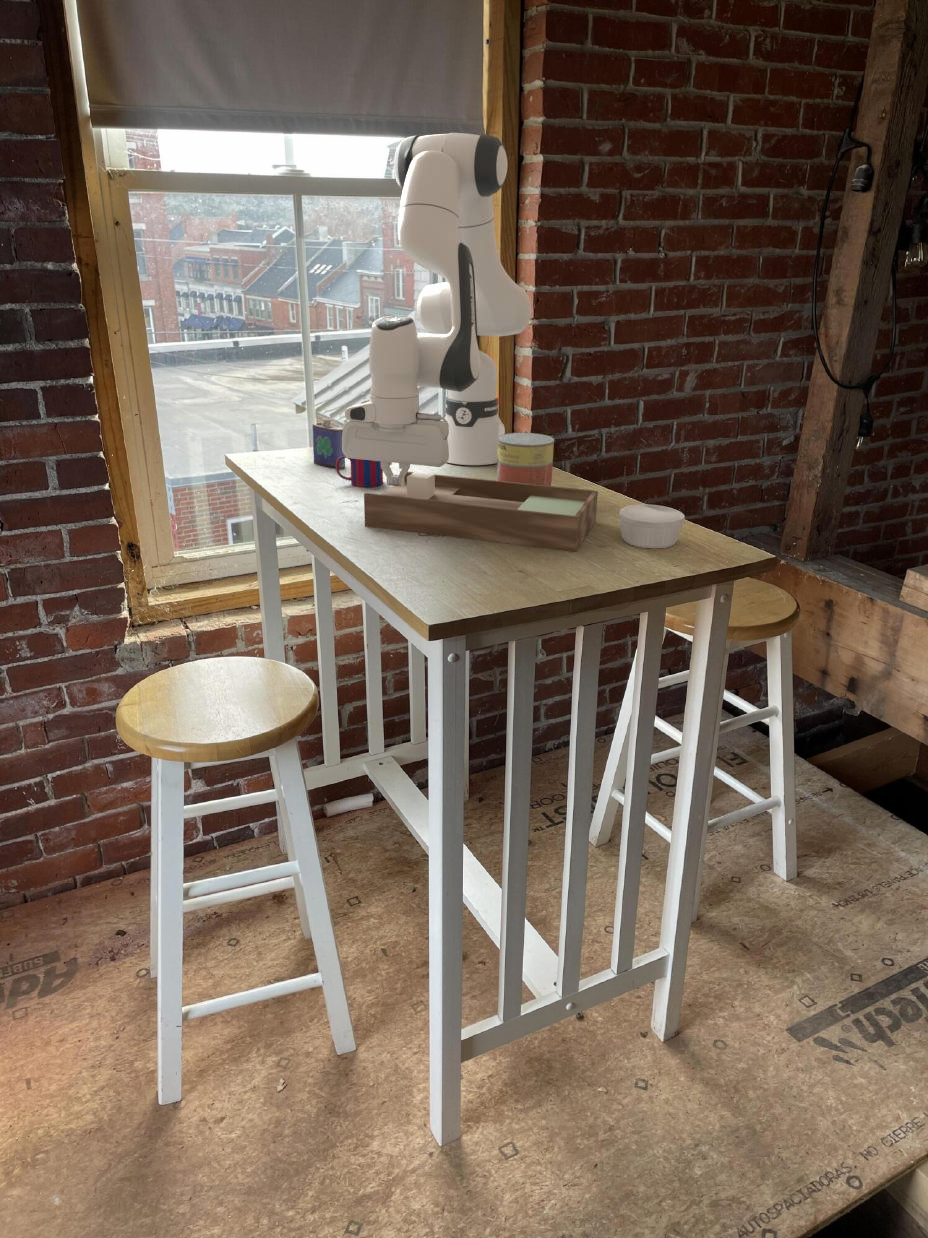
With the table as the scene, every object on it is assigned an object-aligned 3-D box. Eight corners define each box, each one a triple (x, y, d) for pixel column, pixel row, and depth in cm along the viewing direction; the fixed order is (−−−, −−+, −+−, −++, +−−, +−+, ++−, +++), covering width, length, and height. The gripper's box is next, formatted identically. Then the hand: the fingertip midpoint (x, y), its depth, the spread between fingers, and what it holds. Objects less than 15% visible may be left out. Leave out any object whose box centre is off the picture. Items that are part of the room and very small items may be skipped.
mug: (386, 486, 190) (385, 454, 187) (338, 489, 187) (337, 456, 185) (379, 478, 196) (378, 447, 193) (333, 481, 193) (331, 449, 190)
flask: (347, 467, 204) (346, 419, 200) (338, 470, 202) (336, 421, 198) (319, 461, 209) (316, 414, 205) (309, 463, 207) (307, 416, 203)
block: (414, 492, 171) (414, 471, 170) (434, 494, 170) (434, 473, 169) (406, 497, 168) (406, 476, 166) (427, 500, 167) (427, 478, 165)
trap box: (401, 500, 181) (401, 470, 178) (595, 521, 170) (597, 490, 167) (364, 525, 165) (363, 493, 162) (575, 551, 154) (578, 517, 152)
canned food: (500, 488, 191) (502, 431, 186) (553, 491, 189) (556, 434, 184) (491, 502, 180) (493, 442, 176) (548, 506, 178) (551, 446, 174)
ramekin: (687, 537, 163) (690, 508, 161) (674, 555, 153) (677, 525, 151) (626, 528, 167) (628, 500, 165) (609, 545, 157) (612, 516, 155)
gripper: (454, 412, 164) (453, 486, 170) (351, 403, 170) (353, 476, 175) (442, 418, 159) (442, 495, 164) (336, 409, 164) (339, 483, 170)
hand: (395, 485), depth 170 cm, fingers closed
